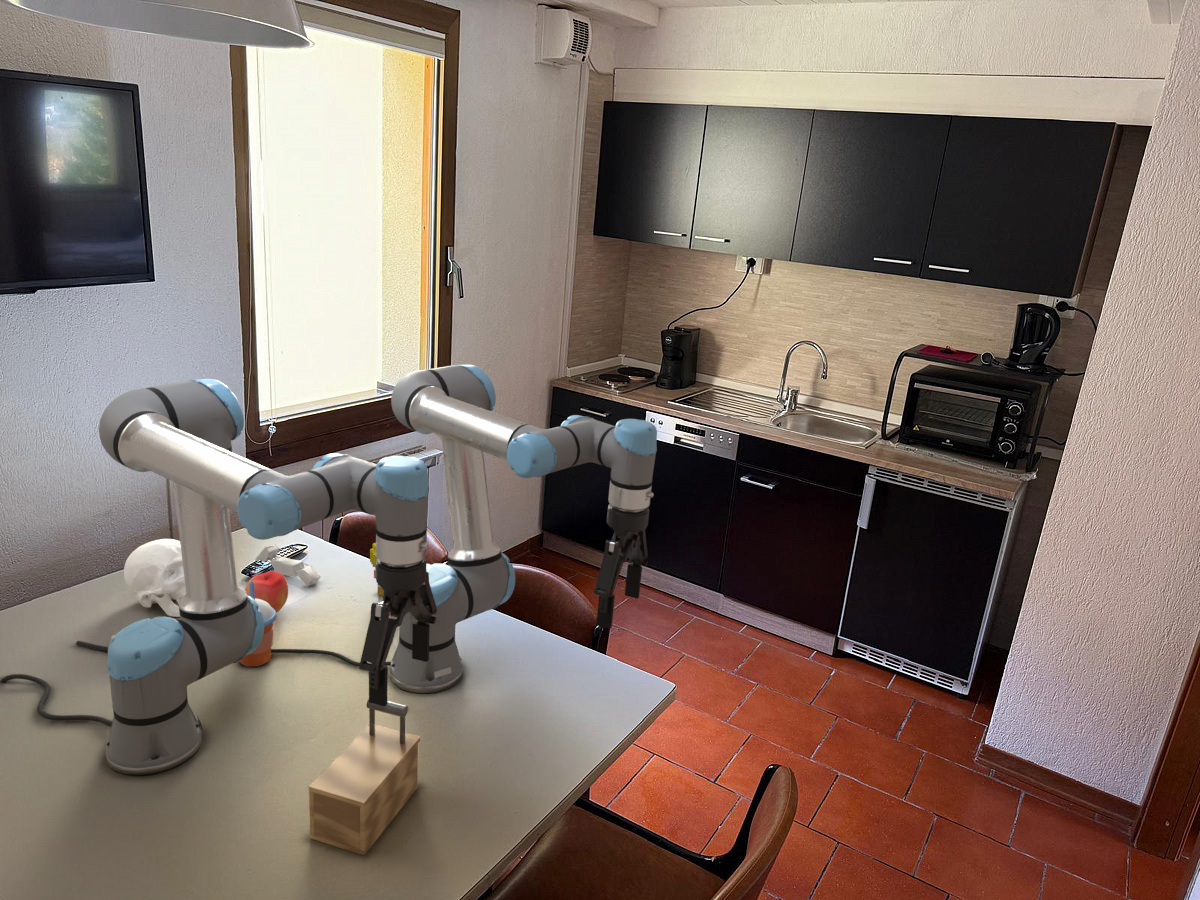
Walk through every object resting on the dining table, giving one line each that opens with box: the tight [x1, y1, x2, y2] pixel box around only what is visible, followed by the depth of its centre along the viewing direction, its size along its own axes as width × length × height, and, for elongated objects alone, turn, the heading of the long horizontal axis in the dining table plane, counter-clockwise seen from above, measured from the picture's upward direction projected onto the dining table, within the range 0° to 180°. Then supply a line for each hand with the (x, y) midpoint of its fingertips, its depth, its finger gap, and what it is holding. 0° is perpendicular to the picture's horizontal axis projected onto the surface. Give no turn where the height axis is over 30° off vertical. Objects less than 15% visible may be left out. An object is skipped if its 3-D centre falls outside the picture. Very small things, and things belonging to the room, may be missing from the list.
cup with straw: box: [239, 582, 278, 667], centre depth 180 cm, size 9×9×18 cm
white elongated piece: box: [254, 544, 322, 587], centre depth 219 cm, size 20×4×7 cm, turn 62°
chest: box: [308, 743, 419, 856], centre depth 141 cm, size 17×10×9 cm, turn 163°
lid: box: [308, 698, 422, 807], centre depth 139 cm, size 18×10×8 cm, turn 163°
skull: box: [123, 538, 186, 618], centre depth 200 cm, size 13×22×16 cm, turn 73°
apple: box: [244, 570, 289, 614], centre depth 199 cm, size 10×10×10 cm
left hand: (400, 680), depth 136 cm, fingers open, 13 cm apart
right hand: (618, 610), depth 160 cm, fingers open, 13 cm apart
